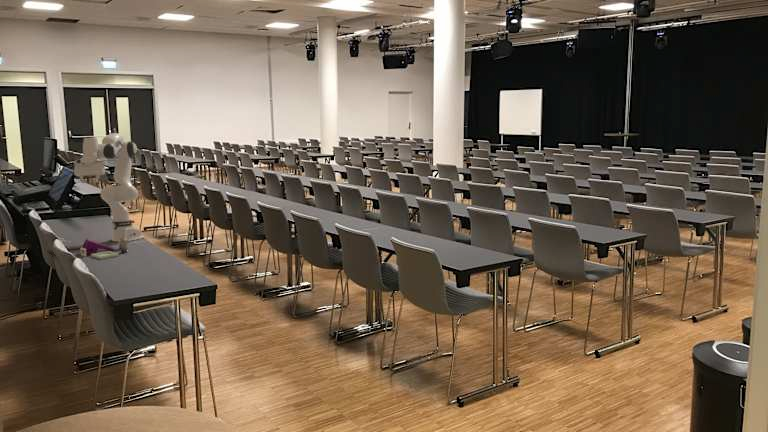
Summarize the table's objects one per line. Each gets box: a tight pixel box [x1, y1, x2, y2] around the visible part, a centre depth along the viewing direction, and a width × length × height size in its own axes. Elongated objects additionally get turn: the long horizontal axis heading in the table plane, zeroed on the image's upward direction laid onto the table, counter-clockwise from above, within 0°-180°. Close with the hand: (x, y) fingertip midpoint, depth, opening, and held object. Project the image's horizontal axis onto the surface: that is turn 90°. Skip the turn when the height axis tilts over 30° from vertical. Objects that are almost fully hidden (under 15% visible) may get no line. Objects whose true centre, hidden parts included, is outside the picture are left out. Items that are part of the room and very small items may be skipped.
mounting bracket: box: [82, 238, 115, 256], centre depth 420 cm, size 9×8×18 cm
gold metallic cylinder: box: [118, 238, 126, 250], centre depth 432 cm, size 5×5×7 cm
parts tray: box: [90, 250, 120, 261], centre depth 409 cm, size 12×12×2 cm
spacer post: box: [120, 239, 128, 254], centre depth 420 cm, size 4×4×9 cm
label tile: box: [80, 247, 88, 257], centre depth 410 cm, size 1×6×5 cm, turn 52°
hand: (89, 182), depth 410 cm, fingers open, 8 cm apart
